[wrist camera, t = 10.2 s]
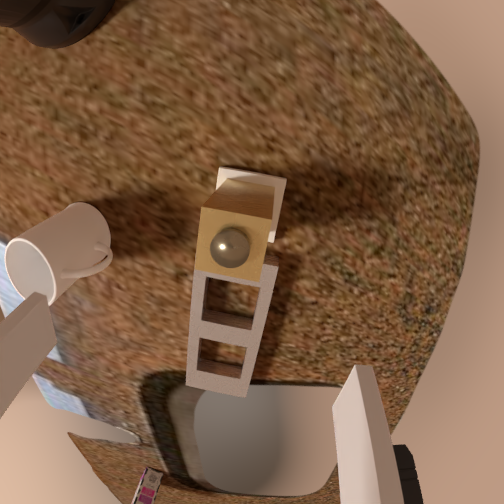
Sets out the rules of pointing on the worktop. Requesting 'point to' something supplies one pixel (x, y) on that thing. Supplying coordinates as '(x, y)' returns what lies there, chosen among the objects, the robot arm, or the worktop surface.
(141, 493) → the candy bar box
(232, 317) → the rail plate
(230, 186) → the brass block
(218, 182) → the pad
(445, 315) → the worktop surface
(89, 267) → the mug
